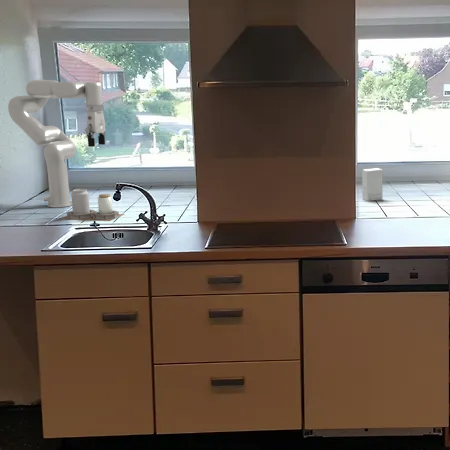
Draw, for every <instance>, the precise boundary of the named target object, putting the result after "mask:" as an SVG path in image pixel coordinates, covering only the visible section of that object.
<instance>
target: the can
mask: <svg viewBox="0 0 450 450" xmlns="http://www.w3.org/2000/svg"><path fill="white" fill-rule="evenodd" d="M87 190H88V189H86V188H76V189H72V192H71V193H70V195H71V201H72V205H71V206H72V207H71V208H72V210H71V211H73V214H85V213H90V196H89V191H87Z"/></svg>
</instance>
